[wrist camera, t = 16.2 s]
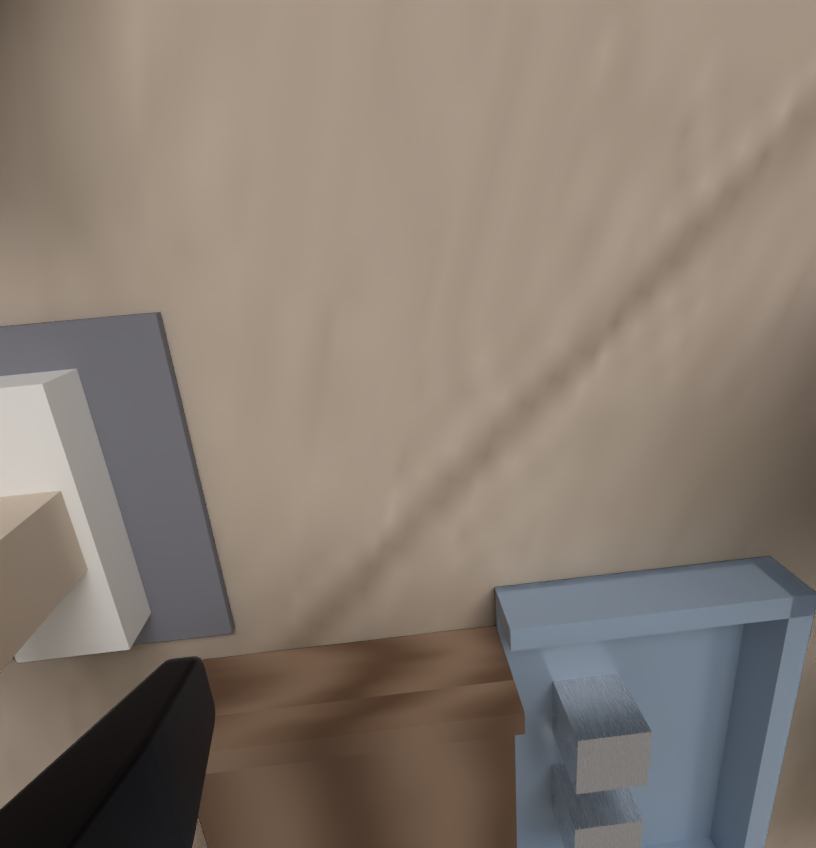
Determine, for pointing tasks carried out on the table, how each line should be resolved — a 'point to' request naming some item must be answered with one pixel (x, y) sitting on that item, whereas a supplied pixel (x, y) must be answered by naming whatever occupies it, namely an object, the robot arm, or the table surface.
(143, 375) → the mat
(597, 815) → the grey square block
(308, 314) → the table surface
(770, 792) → the chip tray
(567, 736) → the chip
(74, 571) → the plate with square knob
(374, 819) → the groove block
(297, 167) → the table surface
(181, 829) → the robot arm
